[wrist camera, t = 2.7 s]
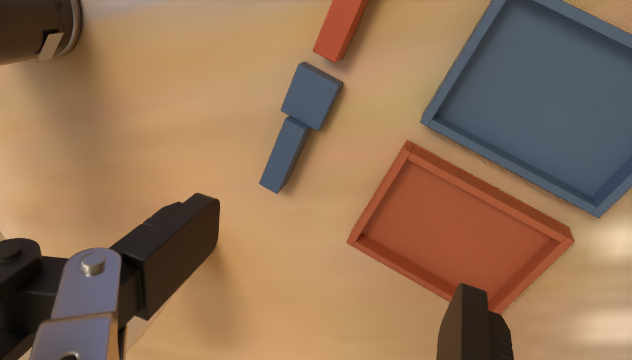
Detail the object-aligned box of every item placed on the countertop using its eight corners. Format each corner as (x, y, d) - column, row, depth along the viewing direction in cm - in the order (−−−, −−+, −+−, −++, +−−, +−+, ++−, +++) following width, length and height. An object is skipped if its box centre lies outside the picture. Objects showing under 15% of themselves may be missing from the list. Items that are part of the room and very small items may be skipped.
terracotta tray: (351, 231, 35) (346, 243, 34) (407, 139, 30) (403, 148, 29) (487, 308, 34) (488, 324, 33) (569, 227, 29) (575, 241, 28)
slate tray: (422, 114, 29) (419, 122, 28) (507, -25, 24) (509, -26, 22) (591, 204, 28) (599, 218, 26) (717, 78, 23) (736, 86, 21)
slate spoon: (294, 188, 36) (285, 199, 34) (260, 169, 36) (250, 179, 34) (343, 82, 30) (336, 88, 28) (304, 60, 30) (294, 65, 29)
